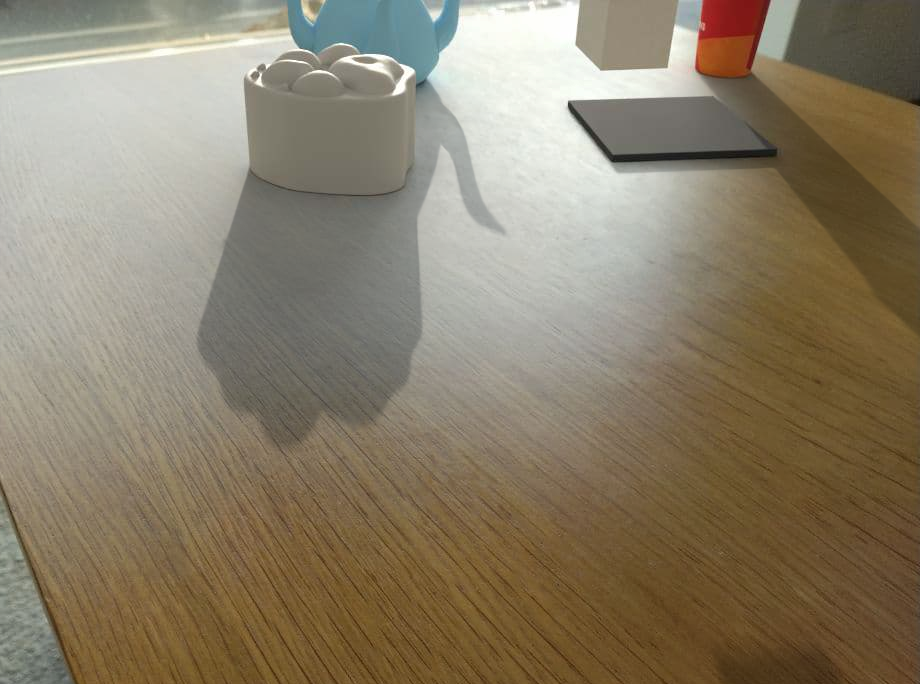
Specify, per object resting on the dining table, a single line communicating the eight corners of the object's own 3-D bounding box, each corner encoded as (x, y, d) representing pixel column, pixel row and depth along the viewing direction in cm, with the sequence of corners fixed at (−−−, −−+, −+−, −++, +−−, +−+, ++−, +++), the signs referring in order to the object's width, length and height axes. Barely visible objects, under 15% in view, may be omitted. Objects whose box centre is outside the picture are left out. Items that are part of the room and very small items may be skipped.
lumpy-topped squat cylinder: (398, 199, 74) (400, 82, 69) (232, 186, 75) (222, 72, 70) (419, 150, 82) (422, 43, 77) (269, 139, 84) (262, 34, 79)
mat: (712, 102, 93) (713, 95, 92) (776, 155, 81) (778, 148, 81) (567, 106, 91) (567, 100, 91) (611, 161, 80) (612, 154, 80)
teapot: (368, 48, 107) (367, -54, 101) (480, 74, 99) (486, -35, 93) (273, 79, 98) (266, -31, 92) (388, 110, 90) (388, -8, 84)
